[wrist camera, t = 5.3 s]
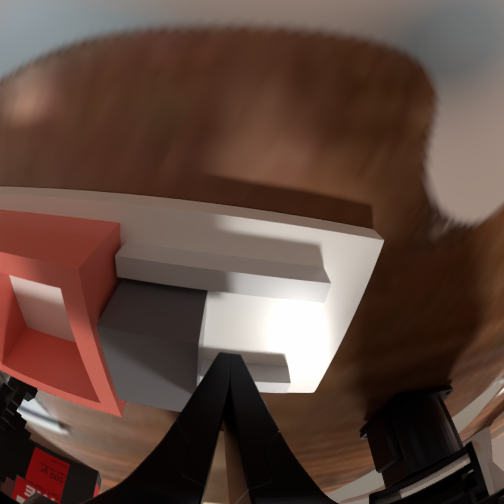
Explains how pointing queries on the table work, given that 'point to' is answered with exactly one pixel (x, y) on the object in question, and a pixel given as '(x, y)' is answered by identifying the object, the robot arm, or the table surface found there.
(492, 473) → the lava lamp
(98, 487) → the cleaning product box
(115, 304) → the toggle
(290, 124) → the table surface
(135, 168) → the table surface
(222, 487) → the block
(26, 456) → the security camera
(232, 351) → the slide switch base
